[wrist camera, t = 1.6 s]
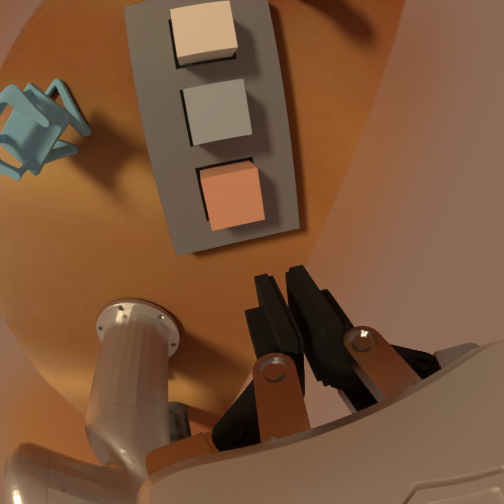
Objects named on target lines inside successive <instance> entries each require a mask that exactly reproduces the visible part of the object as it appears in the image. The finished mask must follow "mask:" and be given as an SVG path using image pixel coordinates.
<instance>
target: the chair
mask: <svg viewBox="0 0 504 504" xmlns="http://www.w3.org/2000/svg"><path fill="white" fill-rule="evenodd" d="M56 88H57V89H58V91H59V94H60V96H61V98H62V100H63V103H64V105H65V107H66V109H67V110H66V109H65V108H64V107H62V106H61V105H60V104H58V103H57V102H56V101H54V100H53V99H51V98H50V96H51V95H52V93H53V92H54V90H55V89H56ZM7 104H9V105H11V106H12V107H13V108H14V110H13V111H12V113H11V115H10V117H9V119H8V121H7V123H6V124H5V126H4V128H3V130H2V132H1V134H0V144H1V145H2V146H3V147H4V148H5V149H6V150H7V151H9V152H10V153H11V154H12V155H13V156H14V157H15V158H16V159H17V160H19V161H20V162H21V163H22V164H23V165H22V166H21V168H20V169H19V168H16V167H13V166H11V165H9V164H7V163H5V162H4V161H2V160H1V159H0V174H3V175H6V176H9V177H11V178H13V179H15V180H17V181H20V179H21V177H22V175H23V174H24V173H25V171H26V170H29V171H30V172H31V173H32V174H33V175H34V176H36V175H38V174H39V173H40V171H41V169H42V168H43V166H44V164H46V163H48V162H51V161H54V160H57V159H60V158H63V157H67V156H70V155H75V154H78V152H79V149H78V147H77V146H75V145H73V144H71V143H69V142H66V141H63V140H59V137H60V136H61V134H62V133H63V132H64V130H65V129H66V127H67V126H68V124H70V125H71V126H72V127H73V128H74V129H75V130H76V131H77V132H78V133H79V134H80V135H82V136H90V135H91V129H90V128H89V127H88V125H87V124H86V122H85V121H84V119H83V118H82V116H81V114H80V113H79V111H78V109H77V107H76V105H75V103H74V101H73V100H72V98H71V96H70V94H69V92H68V90H67V88H66V86H65V85H64V83H63V82H62V81H61V80H60V79H55V80H54V81H53V82H52V83H51V85H50V86H49V88H48V89H47V91H46V92H45V93H44V92H43V91H42V90H41V89H39V88H38V87H37V86H36V85H35V84H33V83H28V85H27V86H26V88H25V90H24V91H21V90H20V89H19V88H18V87H17V86H16V85H13V84H11V85H9V86H7V87H6V88H5V89H4V90H3V91H2V92H1V94H0V115H1V114H2V112H3V110H4V109H5V107H6V106H7ZM53 147H54V148H55V149H53Z"/></svg>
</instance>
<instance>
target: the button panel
mask: <svg viewBox="0 0 504 504" xmlns="http://www.w3.org/2000/svg"><path fill="white" fill-rule="evenodd" d="M219 1H230V7H231V12H232V18H233V23H234V29H235V34H236V40H237V45H238V48H237V49H236V51H235V52H234V54H233V55H232V57H226V58H219V59H213V60H207V61H201V62H196V63H191V64H186V65H181V66H180V65H179V61H178V58H177V52H176V46H175V39H174V33H173V26H172V19H171V12H170V9H175V8H180V7H185V6H191V5H197V4H203V3H211V2H219ZM125 19H126V28H127V37H128V44H129V52H130V59H131V65H132V72H133V78H134V84H135V90H136V95H137V101H138V106H139V111H140V116H141V121H142V126H143V130H144V135H145V140H146V144H147V148H148V153H149V157H150V161H151V165H152V169H153V174H154V177H155V181H156V185H157V189H158V193H159V197H160V200H161V204H162V208H163V211H164V215H165V218H166V222H167V225H168V229H169V232H170V235H171V239H172V242H173V245H174V249H175V252H176V255H177V256H180V255H184V254H189V253H193V252H197V251H201V250H206V249H210V248H214V247H219V246H223V245H228V244H232V243H236V242H241V241H245V240H249V239H254V238H258V237H263V236H267V235H272V234H276V233H281V232H285V231H290V230H294V229H299V228H300V226H299V214H298V203H297V192H296V182H295V173H294V164H293V155H292V147H291V138H290V131H289V123H288V115H287V108H286V101H285V94H284V88H283V81H282V75H281V69H280V63H279V57H278V51H277V46H276V40H275V35H274V29H273V24H272V19H271V14H270V9H269V4H268V0H149V1H145V2H141V3H138V4H134V5H131V6H128V7H125ZM238 79H243V80H244V86H245V92H246V98H247V105H248V111H249V117H250V123H251V130H252V134H251V135H245V136H239V137H233V138H228V139H223V140H218V141H213V142H208V143H203V144H199V145H193V140H192V135H191V130H190V125H189V120H188V114H187V109H186V104H185V98H184V93H183V89H187V88H192V87H197V86H202V85H207V84H212V83H218V82H225V81H231V80H238ZM243 161H250V162H251V163H252V164H254V165H255V166H256V167H257V168H258V175H259V182H260V189H261V195H262V202H263V209H264V216H265V220H260V221H255V222H251V223H246V224H242V225H237V226H233V227H228V228H224V229H219V230H215V231H212V228H211V224H210V219H209V215H208V211H207V206H206V202H205V197H204V193H203V188H202V183H201V178H200V170H204V169H209V168H214V167H218V166H223V165H228V164H233V163H238V162H243Z"/></svg>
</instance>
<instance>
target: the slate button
mask: <svg viewBox="0 0 504 504" xmlns="http://www.w3.org/2000/svg"><path fill="white" fill-rule="evenodd" d="M183 93H184V98H185V104H186V109H187V114H188V120H189V125H190V130H191V135H192V140H193V145H199V144H203V143H208V142H213V141H218V140H223V139H228V138H233V137H239V136H245V135H251V134H252V130H251V123H250V117H249V111H248V105H247V98H246V92H245V86H244V80H243V79H238V80H231V81H225V82H218V83H212V84H207V85H202V86H197V87H192V88H187V89H183Z"/></svg>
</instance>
